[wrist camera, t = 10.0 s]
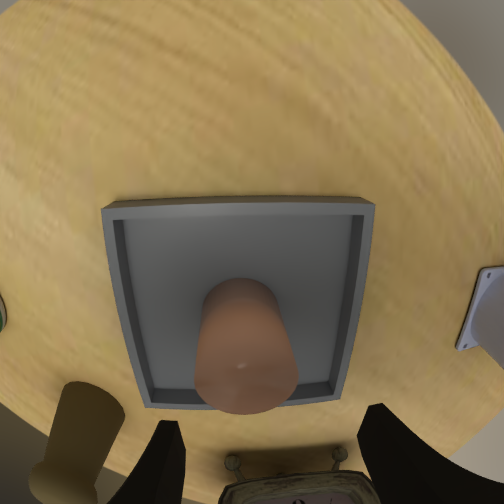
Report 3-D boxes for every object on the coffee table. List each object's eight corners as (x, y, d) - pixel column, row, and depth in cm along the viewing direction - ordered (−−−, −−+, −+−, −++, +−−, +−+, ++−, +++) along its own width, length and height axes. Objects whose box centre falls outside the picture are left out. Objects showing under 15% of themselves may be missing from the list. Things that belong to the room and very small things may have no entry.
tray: (360, 197, 17) (375, 204, 15) (332, 381, 22) (340, 399, 20) (114, 201, 16) (101, 209, 14) (149, 388, 21) (145, 407, 19)
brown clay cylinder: (281, 277, 18) (305, 340, 12) (275, 342, 19) (292, 412, 14) (200, 277, 17) (190, 341, 12) (203, 342, 19) (197, 414, 13)
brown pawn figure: (51, 380, 20) (2, 477, 10) (108, 382, 20) (67, 500, 10) (80, 425, 22) (49, 515, 12) (135, 428, 22) (114, 533, 12)
